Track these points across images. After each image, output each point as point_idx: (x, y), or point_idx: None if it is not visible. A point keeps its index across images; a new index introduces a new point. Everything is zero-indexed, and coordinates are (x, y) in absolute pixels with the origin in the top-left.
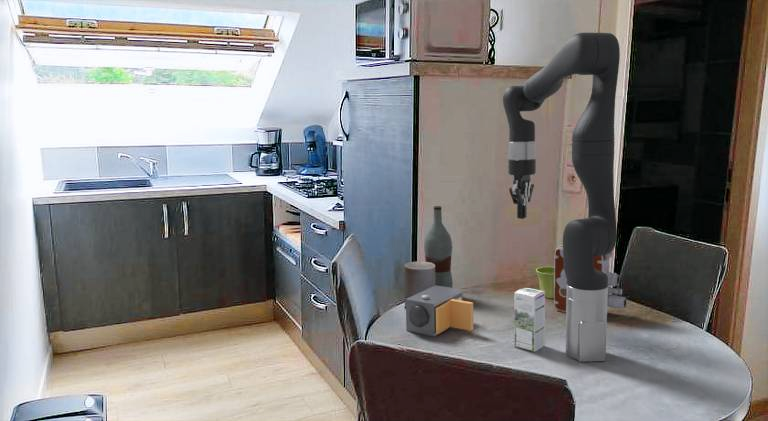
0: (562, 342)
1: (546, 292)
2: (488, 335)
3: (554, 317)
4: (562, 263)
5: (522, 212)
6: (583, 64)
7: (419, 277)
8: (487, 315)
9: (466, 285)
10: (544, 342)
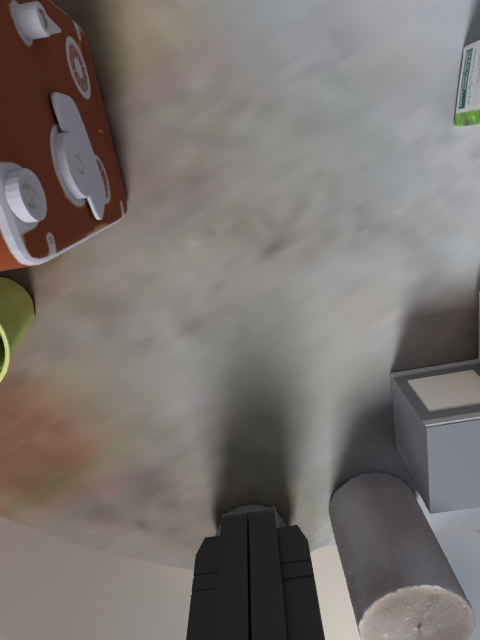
0: (399, 14)
1: (27, 310)
2: (469, 242)
3: (190, 175)
4: (55, 203)
5: (309, 569)
6: None
7: (451, 572)
8: (313, 344)
9: (116, 536)
10: (472, 43)
